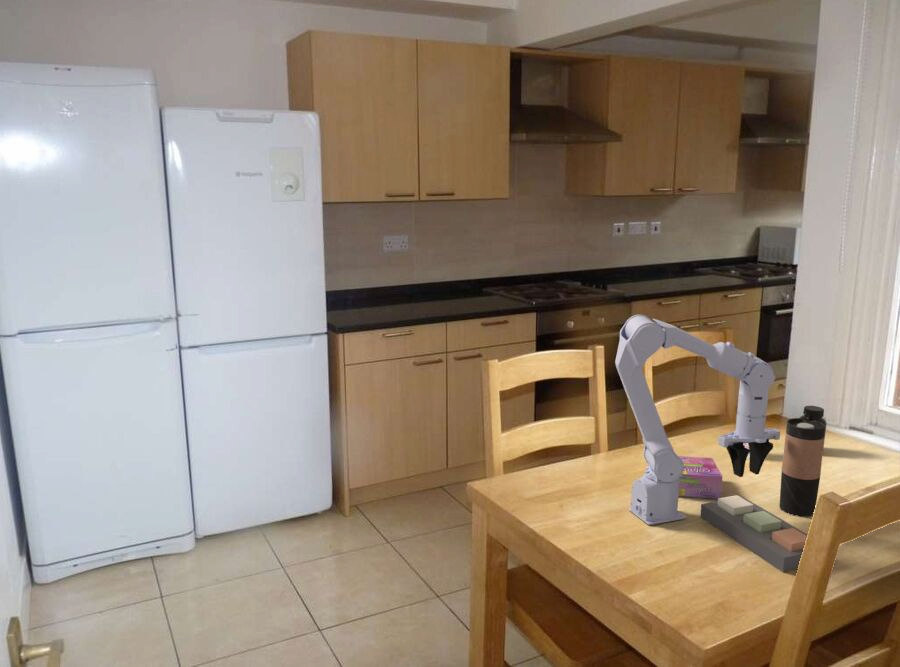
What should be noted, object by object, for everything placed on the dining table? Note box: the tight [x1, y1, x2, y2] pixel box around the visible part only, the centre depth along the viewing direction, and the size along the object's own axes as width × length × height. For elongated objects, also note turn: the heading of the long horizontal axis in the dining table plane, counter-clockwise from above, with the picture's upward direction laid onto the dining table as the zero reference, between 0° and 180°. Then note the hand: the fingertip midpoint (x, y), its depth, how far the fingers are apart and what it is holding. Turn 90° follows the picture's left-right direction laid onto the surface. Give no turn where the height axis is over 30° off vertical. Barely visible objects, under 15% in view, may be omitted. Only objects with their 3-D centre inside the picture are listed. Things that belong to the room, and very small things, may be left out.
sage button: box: [743, 511, 782, 533], centre depth 149 cm, size 5×5×2 cm
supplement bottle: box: [799, 405, 828, 449], centre depth 196 cm, size 7×7×12 cm
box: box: [678, 455, 723, 500], centre depth 173 cm, size 10×6×12 cm
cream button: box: [717, 494, 753, 516], centre depth 156 cm, size 5×5×2 cm
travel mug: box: [779, 417, 826, 517], centre depth 160 cm, size 8×8×20 cm
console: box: [700, 496, 807, 573], centre depth 149 cm, size 11×24×3 cm, turn 19°
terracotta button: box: [772, 528, 807, 552], centre depth 141 cm, size 5×5×2 cm
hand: (746, 473), depth 158 cm, fingers open, 4 cm apart
